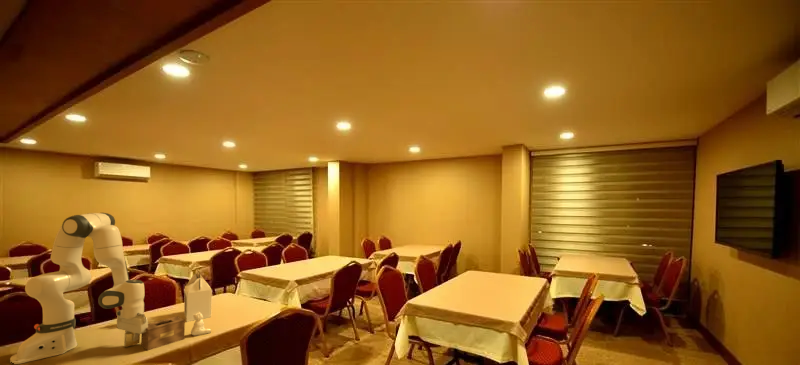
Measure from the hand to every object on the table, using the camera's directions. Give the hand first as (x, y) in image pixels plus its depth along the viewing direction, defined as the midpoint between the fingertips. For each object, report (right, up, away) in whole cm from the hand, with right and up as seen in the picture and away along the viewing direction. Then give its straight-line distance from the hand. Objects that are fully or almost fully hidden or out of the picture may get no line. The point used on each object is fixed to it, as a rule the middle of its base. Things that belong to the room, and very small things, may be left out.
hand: (132, 339), depth 168 cm
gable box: (+5, -6, +45) cm, 46 cm away
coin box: (+13, -3, +4) cm, 14 cm away
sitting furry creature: (+26, -4, +14) cm, 30 cm away
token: (0, -2, 0) cm, 2 cm away
